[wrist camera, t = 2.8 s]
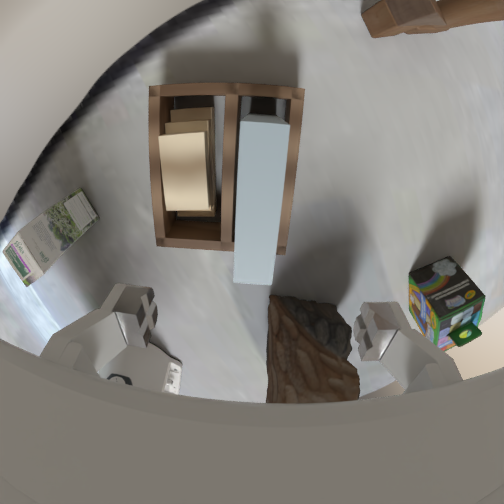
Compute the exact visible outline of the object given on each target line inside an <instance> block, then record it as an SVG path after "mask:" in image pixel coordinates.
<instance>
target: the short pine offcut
mask: <svg viewBox="0 0 504 504" xmlns="http://www.w3.org/2000/svg"><path fill="white" fill-rule="evenodd" d="M158 137H159V149H160V160H161V170H162V179H163V188H164V196H165V204H166V211H173V210H206V209H209V207H210V205H211V189H210V172H209V153H208V131H207V130H206V131H191V132H179V133H169V134H163V135H160V136H158Z"/></svg>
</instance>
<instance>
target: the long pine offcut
mask: <svg viewBox="0 0 504 504" xmlns="http://www.w3.org/2000/svg"><path fill="white" fill-rule="evenodd" d="M208 119H211V120H212V168H213V196H214V205H213V207H212V210H211V211H177V212H178V216H213V217H215V214H216V211H217V202H216V171H215V114H214V107H200V108H185V109H174V110H171V122H176V121H189V120H208Z"/></svg>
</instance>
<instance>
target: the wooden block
mask: <svg viewBox="0 0 504 504" xmlns="http://www.w3.org/2000/svg"><path fill="white" fill-rule="evenodd" d="M361 15H362V18H363V20H364V22H365V24H366V26H367V28H368V30H369V32H370V35H371V36H372V38H379V37H387V36H394V35H397V34H400V33H403V32H404V33H406V34H421V33H437V32H442V31H446V30H449V28H454V27H459V26H464V25H470V24H476V23H483V22H491V21H501V20H504V0H439V1H437V2H436V0H381V1H379V2H378V3H376V4H375V5H373V6H372V7H371V8H369V9H368V10H367V11H365V12H364V13H362V14H361Z"/></svg>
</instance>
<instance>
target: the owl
mask: <svg viewBox="0 0 504 504" xmlns="http://www.w3.org/2000/svg"><path fill="white" fill-rule="evenodd" d="M269 299H270V304H269V305H268V324H269V327H268V334H267V349H266V352H267V361H266V365H267V374H268V388H267V398H266V403H282V404H298V403H328V402H343V401H355V400H358V398H359V394H360V388H359V385H360V382H359V380H360V378H359V375H358V374H357V368H355V367H354V366H353V365H352V364H351V363H350V362H349V361H347V358H348V356H349V354H350V352H351V351H352V347H351V344H350V339H351V333H352V330H351V329H352V328H351V327H350V326H349V325H348V324H347V323H346V322H345V320H344V319H343V318H342V316H341V315H340V314H339V313H338V312H337V309H336V306H335V305H333V304H329V303H317V302H316V301H306V300H299V299H297V298H295V297H291V296H277V295H270V296H269Z"/></svg>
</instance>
